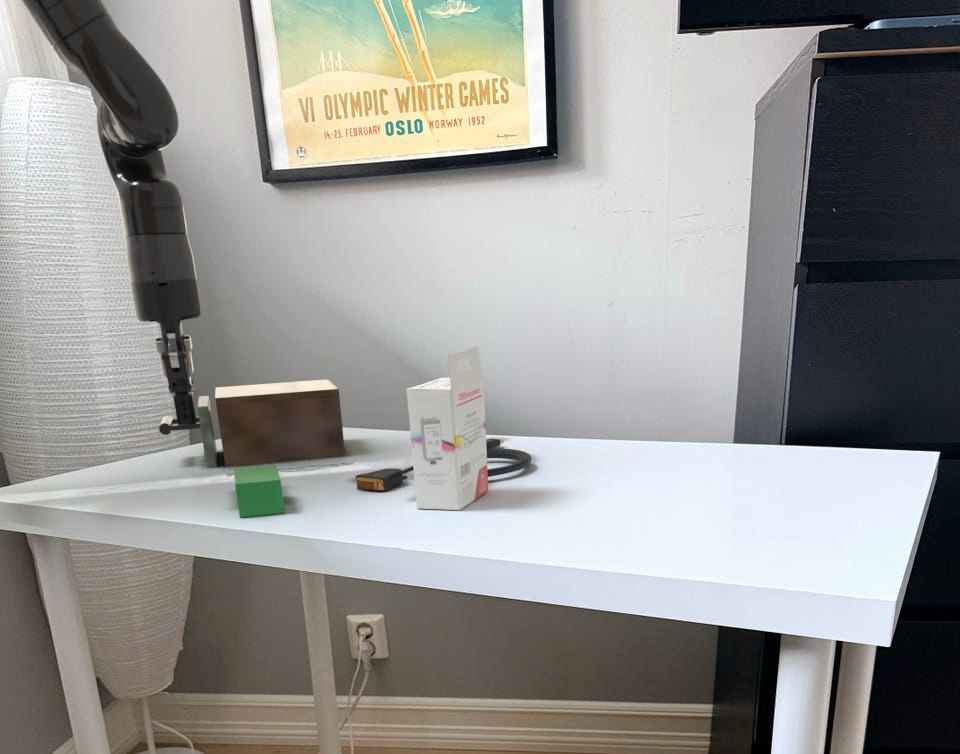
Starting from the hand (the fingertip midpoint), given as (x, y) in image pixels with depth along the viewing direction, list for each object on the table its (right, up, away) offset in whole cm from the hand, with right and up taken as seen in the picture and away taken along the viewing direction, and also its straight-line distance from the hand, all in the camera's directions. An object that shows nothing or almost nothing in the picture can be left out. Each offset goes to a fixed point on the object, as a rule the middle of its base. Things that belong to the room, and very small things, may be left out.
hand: (187, 426), depth 116 cm
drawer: (+6, -3, +3) cm, 7 cm away
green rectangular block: (+14, -13, -20) cm, 27 cm away
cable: (+36, -7, -7) cm, 37 cm away
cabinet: (+11, -3, +4) cm, 12 cm away
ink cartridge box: (+34, -13, -21) cm, 42 cm away
